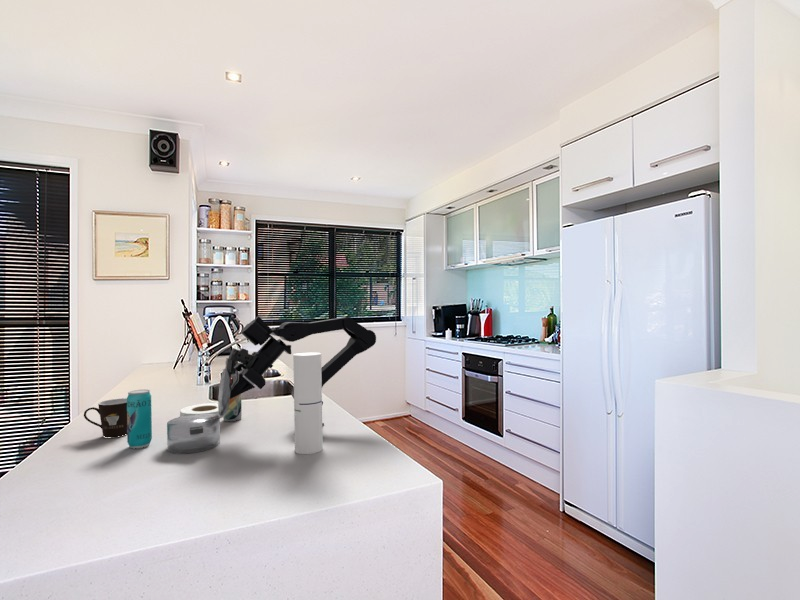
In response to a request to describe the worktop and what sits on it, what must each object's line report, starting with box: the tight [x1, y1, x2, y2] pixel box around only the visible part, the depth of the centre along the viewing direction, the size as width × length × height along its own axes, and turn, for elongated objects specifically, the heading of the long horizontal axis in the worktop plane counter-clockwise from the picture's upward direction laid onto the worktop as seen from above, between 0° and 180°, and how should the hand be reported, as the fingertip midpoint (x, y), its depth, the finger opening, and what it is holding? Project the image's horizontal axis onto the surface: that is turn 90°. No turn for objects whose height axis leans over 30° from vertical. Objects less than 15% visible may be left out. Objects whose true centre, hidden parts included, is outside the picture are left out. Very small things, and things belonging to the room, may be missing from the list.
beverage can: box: [126, 389, 153, 450], centre depth 119 cm, size 6×6×15 cm
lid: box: [217, 357, 233, 416], centre depth 123 cm, size 16×13×2 cm
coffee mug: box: [83, 397, 127, 438], centre depth 130 cm, size 12×9×10 cm
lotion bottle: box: [222, 360, 243, 422], centre depth 145 cm, size 6×6×20 cm
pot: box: [166, 414, 221, 455], centre depth 119 cm, size 13×18×7 cm
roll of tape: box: [179, 402, 223, 418], centre depth 152 cm, size 16×15×3 cm
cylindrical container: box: [292, 351, 324, 455], centre depth 114 cm, size 7×7×25 cm
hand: (227, 398), depth 123 cm, fingers closed, pressing on lid
